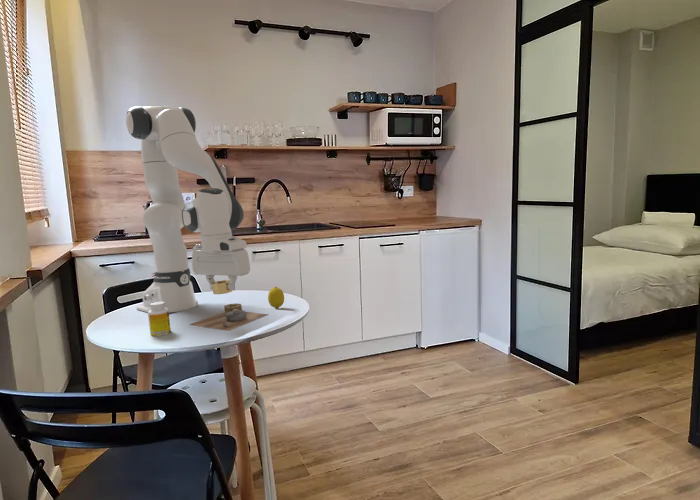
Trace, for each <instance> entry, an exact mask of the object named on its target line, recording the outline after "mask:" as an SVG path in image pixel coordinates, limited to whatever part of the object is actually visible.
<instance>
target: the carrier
mask: <svg viewBox="0 0 700 500" xmlns="http://www.w3.org/2000/svg"><path fill="white" fill-rule="evenodd" d="M242 307H243V306H242V303H228V304H225V305H224V307H223V309H224V311H222V312H221V313H218V314H215V315H212V316H209V317H206V318H203V319H200V320H197V321H196V322H193V323H189V324H188V326H194V327H201V328H208V329H214V330H222V331H229V332H230V331H232V330H234V329H237V328H239V327H240V328H241V326H244V325H246V324H249V323H251V322H254V321H256V320H260V319H261V318H264V317H267V316H268V315H269V313H260V312H258V313H257V312H251V311H246V310H243V308H242Z"/></svg>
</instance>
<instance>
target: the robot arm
mask: <svg viewBox="0 0 700 500" xmlns="http://www.w3.org/2000/svg"><path fill="white" fill-rule="evenodd" d="M125 125H126V128H127V131H128V134H130V135H131V137H133V138H135V139H138V140H141V144H140V145H141V146H140V147H141V149H140V151H141V152H140V153H141V154H140V155H141V162H142V171H143V175H144V183H145V184H144V185H145V187H146V189H147V191H148V193H149V196H150V198H151V201H152V204H151V205H150V206H148V207H147V208H146V209H145V211H144V212H143V216H142V222H143V225H144V227H145V228H146V229H147V233H148V235H149V239H150V242H151V246H152V249H153V254H154V255H153V257H154V264H155V265H154V266H155V272H152V273H151V277H153V282H152V283H151V285H150V286H148V288H146V290H144V292H143V293H142V303H141V304H139V305H137V306H136V310H138V311H142V312H145V313H148V311H149V310H151V308H150V304H151V303H154V302H160V301H162V302H165V308H167V309H168V311H169V314H170V313H177V312H182V311H186V310H188V309H192V308H194V307H196V306H197V305H198V300H197V299H196V297H195V296H196V295H195V291H194V286H193V282H192V281H191V271H192V273H193V274H194V275H196V276H197V275H200V276H204V275H205V279H206V281H207V282H208V283H209V289H210V290H213V288H212V283H213V282H216V281H215V276H228V280H230V282H229V284H228V285H227V289H228V290H232V291H235V290H236V285H235V284H236V281H237V279H238V277H243V276H246V275H248V274H249V273H250V271H251V263H250V257H249V253H248V251H247V249H246V248H248V247H247V246H248V245H247V241H246V240H243V239H241V238H239V237H237V236H235V235H233V233H232V230H236V229H237V228H238V227H239V226H240V225H241V224H242V222H243V220H244V209H243V206H242V204H241V202H239V200H238V199H237V198H236V196H235V194H234V193H233V191H232V189H231V187H230V186H229V183H228V182H227V180H226V178H225V176H224V174H223V172H222V170H221V168H220V166H219V164H218V163H217V162H216V159H215V158H214V157H213V156H212V155H210V154H208V153H207V151H205V150H204V149H203V148H202V146H201V145H200V144H199V142H198V140H197V137H196V134H195V133H196V128H197V127H196V126H197V123H196V118H195V115H194V113H193V112H192V111H191V109H189V108H186V107H181V106H180V107H175V106H170V105H155V106H154V105H151V106H142V105H139V106H138V105H137V106H132V107H130V108H129V109H128V110H127V111H126V117H125ZM179 170H180V171H183V172H187V173H190V174H194V175H196V176H199V177H202V178H203V179H205V181H207V182H208V184H209V186H210V187H206V188H201V189H199V190H198V191H197V192H196V197H195V198H194V199H193V200H191V201H190V202H187V203H185V200H184V197H183V196H184V195H183V193H182V190H181V187H180V182H179V181H180V180H179V175H178V171H179ZM182 228H185V229H187V230H188V231H190V232H191V233H200V243H196V244H195V245H194V246H193V247H192V255H191V267H192V270H191V269H190V268H189V262H188V261H189V260H188V250H187V246H186V244H185V242H184V238H183V235H182Z"/></svg>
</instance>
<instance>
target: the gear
mask: <svg viewBox="0 0 700 500" xmlns="http://www.w3.org/2000/svg"><path fill="white" fill-rule="evenodd" d="M229 282H230V279H223V280H217V281H215V282H213V283H212V288H213V289H212V294H213V295H224V294H229V293H232V292H233V290H228V289H227V285H228V284H229Z"/></svg>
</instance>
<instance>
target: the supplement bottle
mask: <svg viewBox="0 0 700 500" xmlns="http://www.w3.org/2000/svg"><path fill="white" fill-rule="evenodd" d="M150 308H151V310H149V311H148V312H147V315H148V326H149V327H148V328H149V333H150V336H152V337H160V336H161V337H163V336H165V335H166V336H167V335H169V334H170V333H171V332H172V331H171V322H170V313H169V311H168V309H167V308H165V302H162V301H160V302H154V303H151V304H150Z"/></svg>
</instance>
